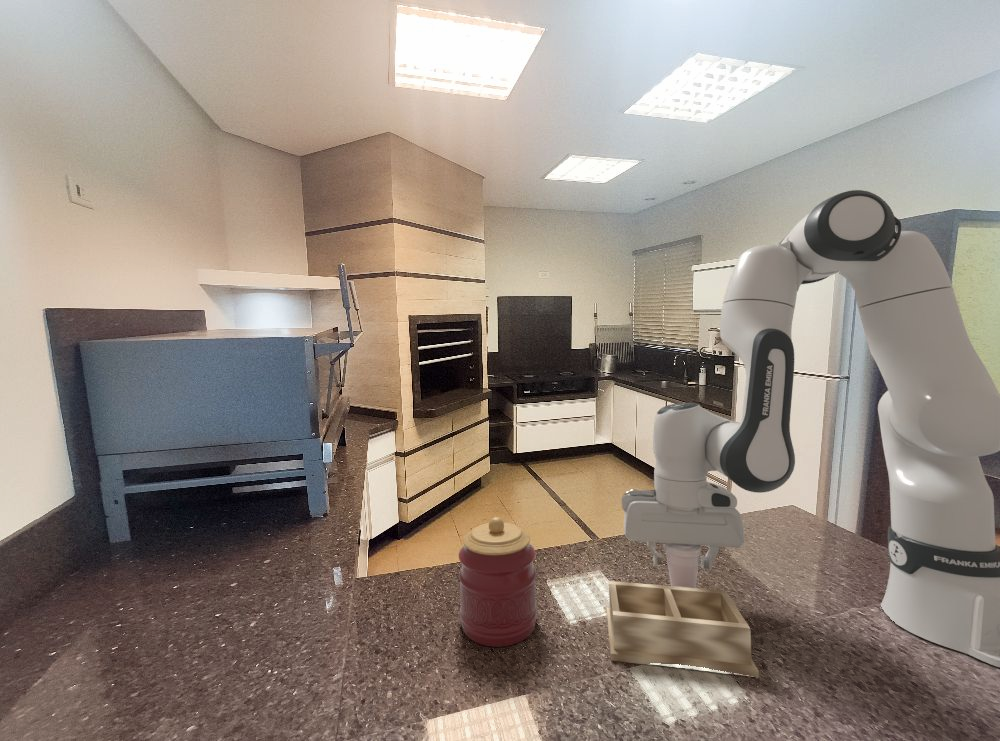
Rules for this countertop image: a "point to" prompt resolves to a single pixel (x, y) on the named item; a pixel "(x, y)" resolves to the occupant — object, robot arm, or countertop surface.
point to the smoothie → (682, 564)
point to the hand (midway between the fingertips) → (681, 566)
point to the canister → (497, 584)
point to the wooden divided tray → (678, 627)
